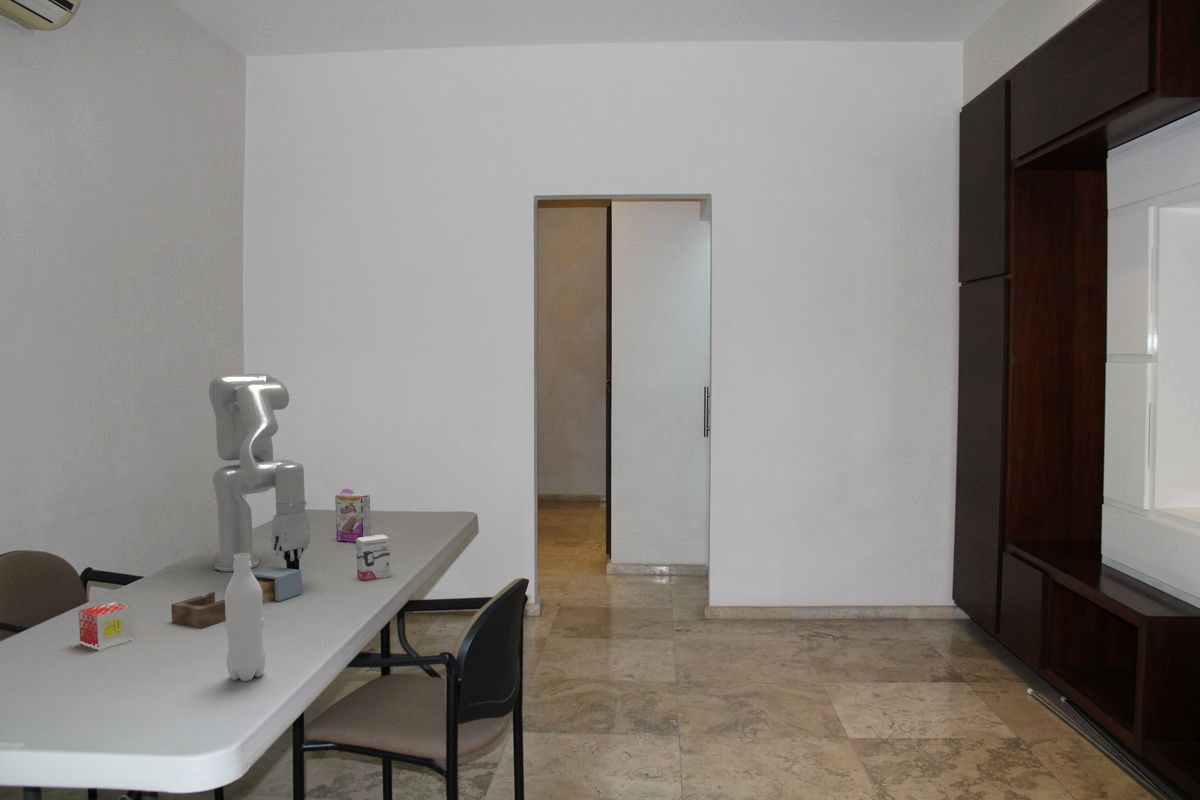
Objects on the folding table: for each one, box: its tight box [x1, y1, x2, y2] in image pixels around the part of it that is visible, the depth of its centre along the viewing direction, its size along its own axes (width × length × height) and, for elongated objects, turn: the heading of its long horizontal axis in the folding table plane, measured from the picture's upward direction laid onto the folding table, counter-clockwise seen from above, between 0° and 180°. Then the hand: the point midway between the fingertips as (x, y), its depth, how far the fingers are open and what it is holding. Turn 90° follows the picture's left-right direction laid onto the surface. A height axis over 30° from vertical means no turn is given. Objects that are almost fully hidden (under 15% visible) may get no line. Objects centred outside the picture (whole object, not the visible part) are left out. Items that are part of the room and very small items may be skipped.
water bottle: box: [223, 553, 266, 682], centre depth 171 cm, size 7×7×25 cm
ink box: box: [355, 534, 391, 582], centre depth 247 cm, size 8×5×12 cm, turn 123°
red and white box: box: [77, 601, 135, 647], centre depth 194 cm, size 8×8×8 cm
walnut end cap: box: [170, 591, 226, 629], centre depth 211 cm, size 12×12×4 cm
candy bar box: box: [335, 493, 372, 543], centre depth 296 cm, size 11×5×16 cm, turn 71°
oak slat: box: [258, 578, 275, 604], centre depth 225 cm, size 4×16×5 cm, turn 153°
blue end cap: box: [252, 566, 303, 602], centre depth 230 cm, size 10×8×6 cm
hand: (293, 573), depth 235 cm, fingers closed
